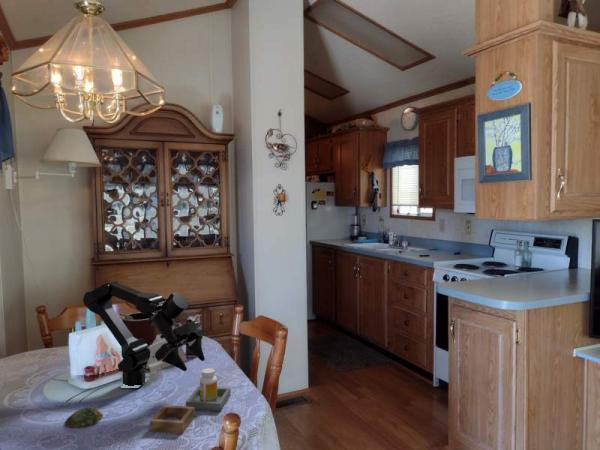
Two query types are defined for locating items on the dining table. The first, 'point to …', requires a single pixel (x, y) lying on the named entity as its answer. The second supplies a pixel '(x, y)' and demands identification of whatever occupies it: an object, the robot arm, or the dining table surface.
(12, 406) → the dining table surface
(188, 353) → the supplement box
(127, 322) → the mate gourd
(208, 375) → the supplement bottle
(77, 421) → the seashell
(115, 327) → the robot arm
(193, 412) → the walnut collar
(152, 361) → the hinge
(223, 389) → the charcoal tray
